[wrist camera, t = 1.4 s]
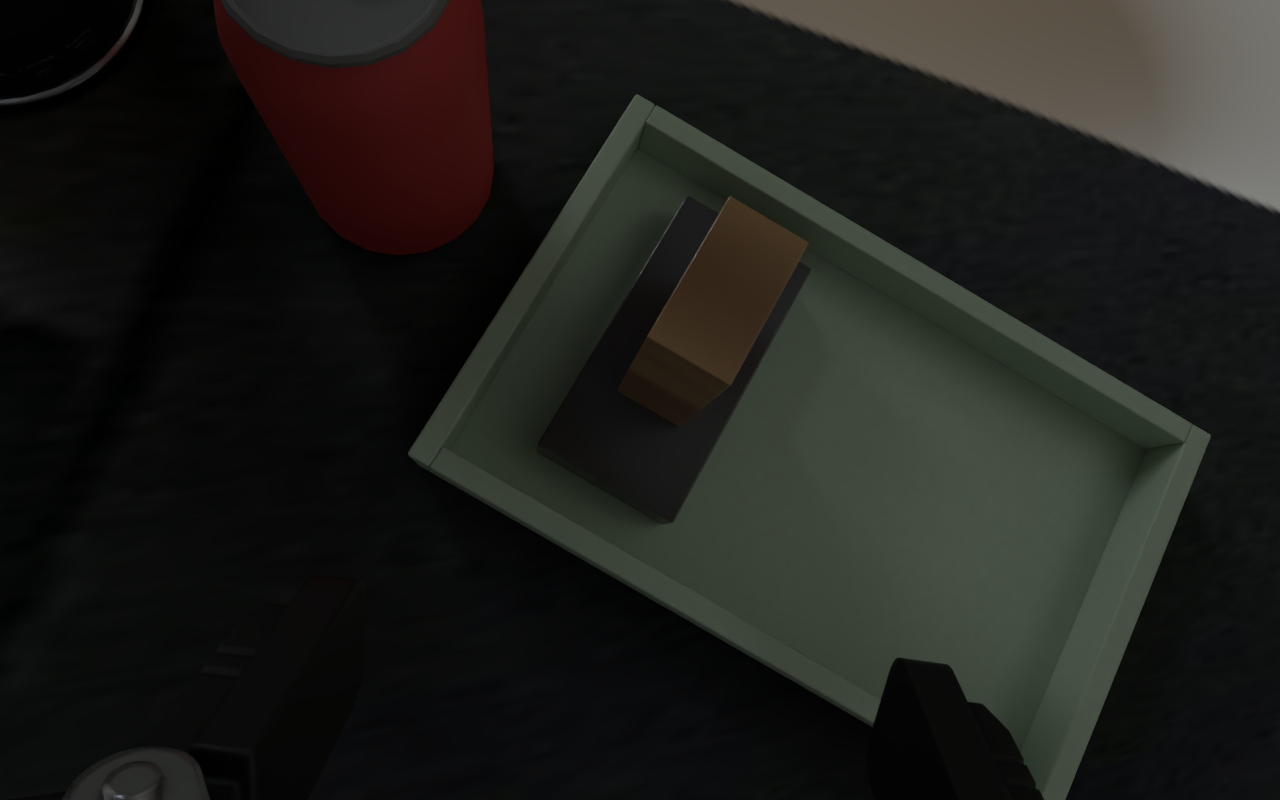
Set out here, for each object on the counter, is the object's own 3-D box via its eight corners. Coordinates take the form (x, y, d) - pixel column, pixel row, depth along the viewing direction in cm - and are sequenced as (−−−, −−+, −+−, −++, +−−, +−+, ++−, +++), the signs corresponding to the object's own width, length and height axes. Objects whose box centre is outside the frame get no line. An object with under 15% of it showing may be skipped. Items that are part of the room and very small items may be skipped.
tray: (417, 464, 30) (406, 454, 27) (626, 133, 33) (636, 92, 30) (1003, 802, 31) (1054, 828, 28) (1152, 445, 34) (1212, 435, 31)
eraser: (662, 525, 30) (723, 511, 21) (535, 451, 30) (542, 406, 21) (794, 285, 32) (898, 182, 23) (676, 215, 32) (736, 85, 23)
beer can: (530, 160, 32) (535, -64, 21) (420, 297, 31) (359, 138, 19) (385, 57, 32) (308, -226, 21) (268, 189, 31) (114, -36, 19)
